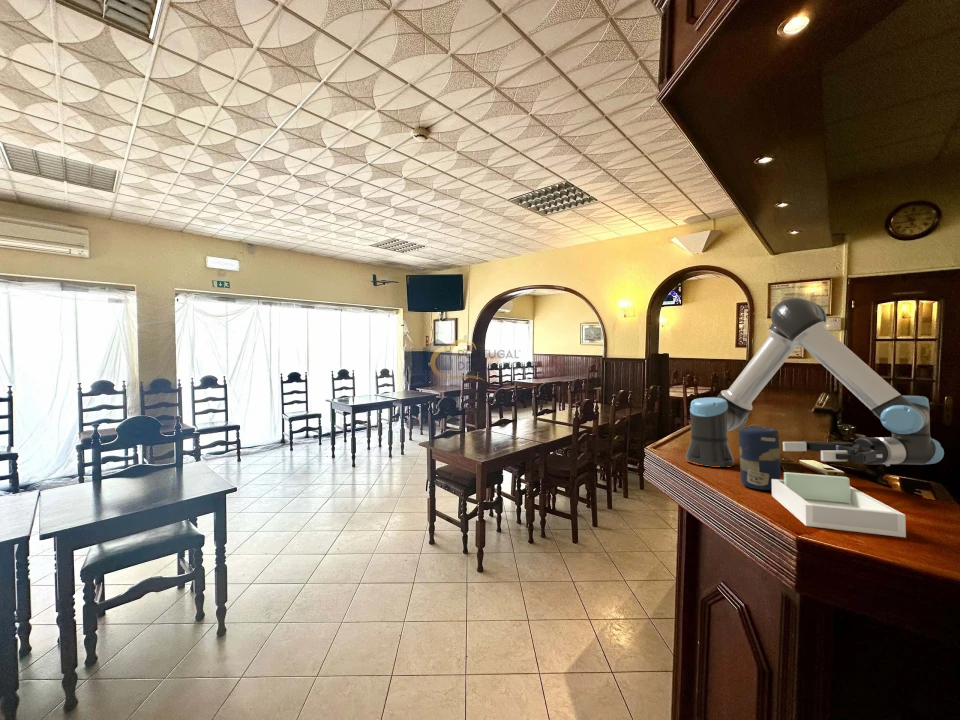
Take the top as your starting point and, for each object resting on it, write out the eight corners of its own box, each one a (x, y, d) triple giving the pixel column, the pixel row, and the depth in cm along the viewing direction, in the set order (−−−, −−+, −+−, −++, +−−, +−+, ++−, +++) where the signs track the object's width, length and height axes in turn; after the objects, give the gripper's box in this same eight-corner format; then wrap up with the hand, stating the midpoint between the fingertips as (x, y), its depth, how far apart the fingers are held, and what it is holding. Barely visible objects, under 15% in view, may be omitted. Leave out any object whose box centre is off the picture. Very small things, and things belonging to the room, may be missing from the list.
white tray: (771, 495, 106) (771, 478, 106) (849, 503, 100) (848, 485, 100) (806, 525, 85) (805, 504, 85) (905, 537, 79) (905, 514, 80)
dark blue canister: (767, 482, 117) (764, 422, 118) (790, 492, 108) (786, 426, 108) (733, 483, 118) (730, 422, 119) (753, 492, 108) (750, 427, 109)
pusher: (784, 495, 102) (783, 472, 102) (846, 501, 98) (846, 476, 98) (786, 497, 101) (786, 473, 101) (849, 503, 96) (849, 478, 96)
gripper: (926, 475, 100) (841, 475, 100) (838, 455, 125) (770, 455, 125) (924, 445, 100) (840, 445, 101) (837, 431, 125) (769, 431, 125)
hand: (801, 450), depth 113 cm, fingers open, 13 cm apart
